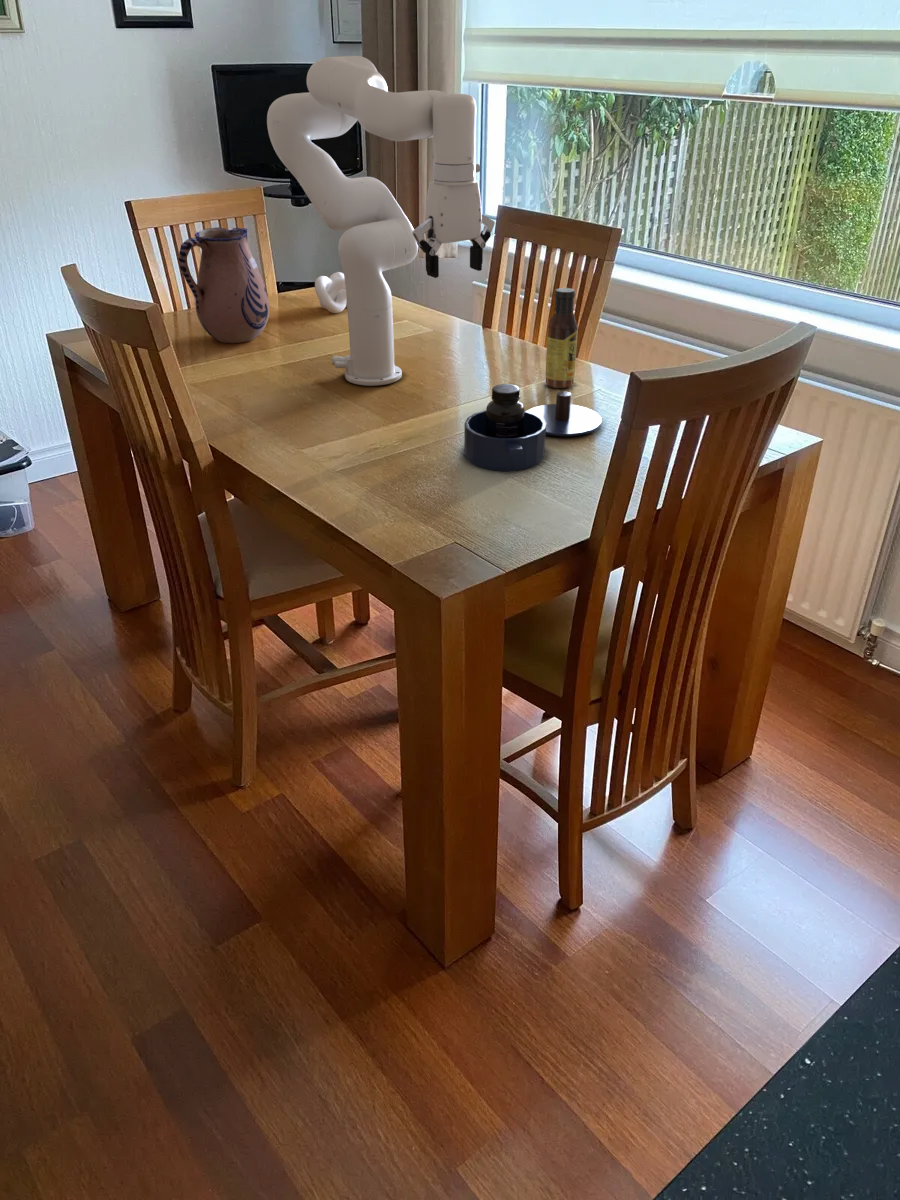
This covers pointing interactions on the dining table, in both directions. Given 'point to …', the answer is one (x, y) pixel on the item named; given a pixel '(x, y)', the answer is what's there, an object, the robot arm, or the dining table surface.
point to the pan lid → (567, 417)
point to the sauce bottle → (562, 341)
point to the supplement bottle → (505, 413)
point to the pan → (504, 444)
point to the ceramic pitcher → (227, 285)
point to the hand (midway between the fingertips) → (454, 272)
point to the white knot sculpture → (332, 292)
